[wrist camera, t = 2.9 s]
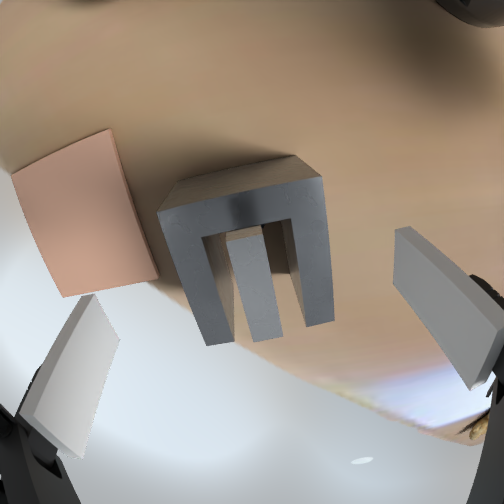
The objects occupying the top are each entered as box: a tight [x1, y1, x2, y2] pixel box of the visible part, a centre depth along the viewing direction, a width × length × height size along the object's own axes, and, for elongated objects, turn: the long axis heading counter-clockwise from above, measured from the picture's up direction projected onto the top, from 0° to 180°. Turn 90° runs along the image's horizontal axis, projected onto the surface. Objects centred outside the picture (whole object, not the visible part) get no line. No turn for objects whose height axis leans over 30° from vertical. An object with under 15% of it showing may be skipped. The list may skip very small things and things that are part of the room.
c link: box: [156, 155, 335, 346], centre depth 21 cm, size 10×9×7 cm
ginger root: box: [469, 412, 490, 440], centre depth 49 cm, size 16×16×8 cm
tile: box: [11, 129, 160, 298], centre depth 22 cm, size 13×11×1 cm
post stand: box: [226, 224, 283, 342], centre depth 19 cm, size 6×3×10 cm, turn 11°
